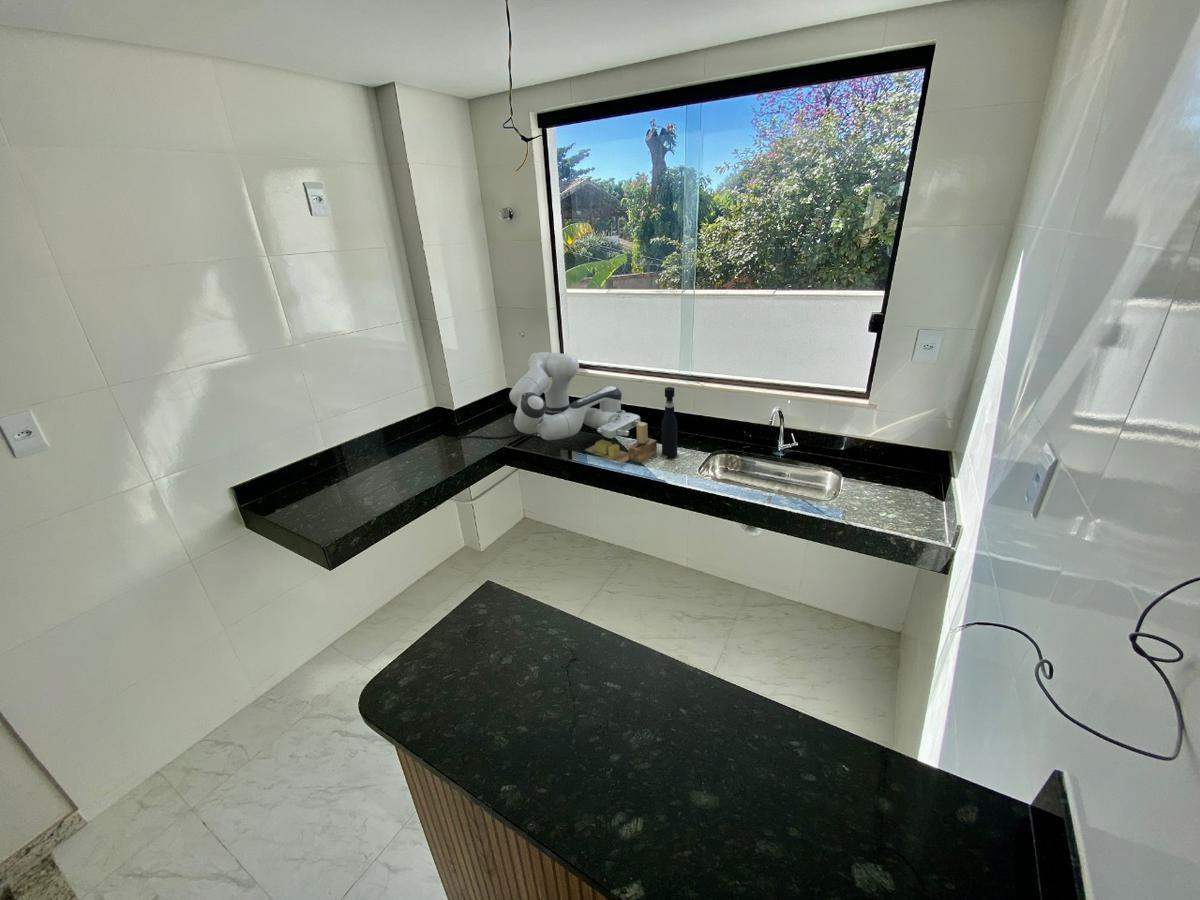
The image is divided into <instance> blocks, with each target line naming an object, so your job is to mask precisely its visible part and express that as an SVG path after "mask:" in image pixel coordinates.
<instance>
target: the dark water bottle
mask: <svg viewBox="0 0 1200 900" xmlns="http://www.w3.org/2000/svg"><path fill="white" fill-rule="evenodd" d="M664 397H665V398H666V399H665V404H664V405H665V406H664V414H663V417H662V421H661V455H662V456H664V457H665V458H666V459H667V460H671V459H675V458H677V457H678V421H677V417H676V414H675V405H674V403H675V402H674V399H673V398H674V397H675V387H671V386H667V387H665V388H664Z"/></svg>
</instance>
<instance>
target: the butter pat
mask: <svg viewBox="0 0 1200 900" xmlns="http://www.w3.org/2000/svg"><path fill="white" fill-rule="evenodd" d="M608 451H609V456H612V457H614V456H616V455H617V454H619V453H620V451H621V449H620V444H618V443H614V444H613V443H612V445H611V446H610V447H608Z"/></svg>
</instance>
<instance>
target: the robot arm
mask: <svg viewBox="0 0 1200 900" xmlns="http://www.w3.org/2000/svg"><path fill="white" fill-rule="evenodd" d="M527 364H528V368H529V369H528V371H527V372H526V373H525V374H523V376H522V377H520V379H518V381H517V382H516V383H515V384H514V386H513V387H512V389H510V392H509V400H510V402H511V404H512V405H513V406H515V407H516V411H515V414H514V417H513V419H512V429H513V431H514V432H515V433H514V434H510V435H506V436H505V435H504V436H482V435H465V436H457V437H458V438H455V437H456V436H454V437H453V436H452V437H449V438H448V439H450V440H452V439H451V438H454V439H455V440H457V439H458V440H459V439H466V438H480V439H507V438H511V437H515V436H518V435H519V436H522V437H529V436H530V437H540V438H541V439H542V440H544V441H558V440H563V439H568V438H572V437H574V436H576V435H577V434H578V433H579V432H580V431H581V429H582V427H583V424H584V425H585V426H587V427H590V428H592V429H596V432H597V434H601V435H602V436H603V437H605V438H607V439H614V438H616V437H618V436H620V437H621V436H624V437H628V436H629V435H630V431H629V430H631V429H633V428H635V427H637V424H638V423H640V422H641V416H640V415H638V414H635V413H632V412H626V411H625V410H623V409H621V408H622V396H623V393H622V391H621V390H620V388H618V387H617V386H615V385H607V386H604V387H602V388H600V389H599V390H597V391H595V392H593V393H590V394H588V395H585V396H583V397H581V398H579V399H576V400H574V401H572V402H570V399H569V387H570V383H571V381H572V380H573V379H574V378H575V377H576V375H577V374H578V372H579V370H580V363H579V361H578V359H577V357H575V356H573V355H570V354H568V353H561V352H559V353H558V352H550V351H549V352H548V351H539V352H533V353H532V354H531V355H530V356H529V358H528V363H527ZM550 378H551V383H550ZM543 393H544V398H545V399H544V398H543V397H541V396H542V395H543ZM598 404H599V408H595V407H593V406H595V405H598ZM448 439H446V440H445V443H448V442H449V441H450V440H448ZM454 439H453V440H454Z"/></svg>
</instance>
